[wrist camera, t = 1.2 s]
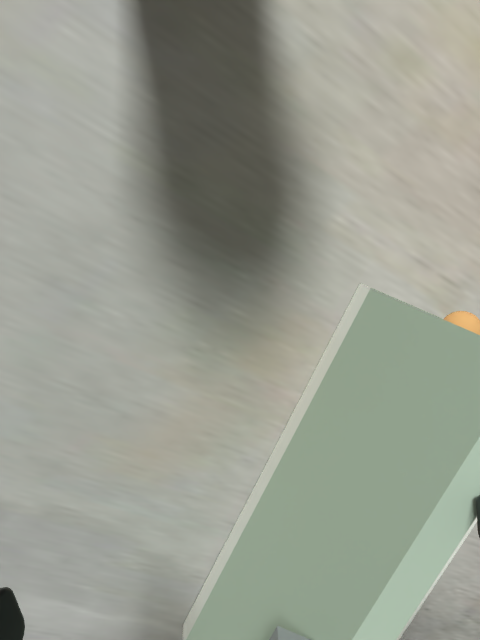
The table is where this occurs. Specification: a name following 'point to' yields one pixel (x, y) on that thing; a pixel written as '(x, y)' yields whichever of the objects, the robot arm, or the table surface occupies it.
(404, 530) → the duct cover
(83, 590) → the table surface
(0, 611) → the robot arm
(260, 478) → the cable duct
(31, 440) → the table surface
